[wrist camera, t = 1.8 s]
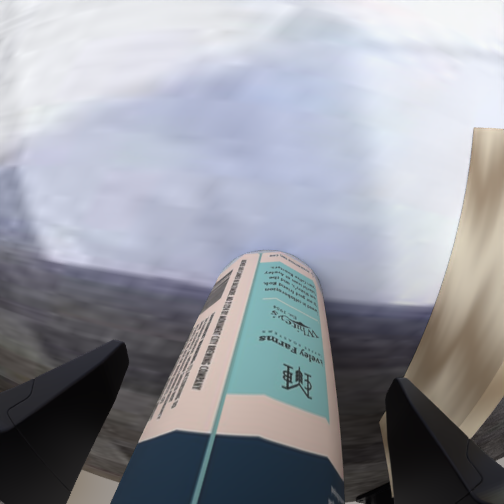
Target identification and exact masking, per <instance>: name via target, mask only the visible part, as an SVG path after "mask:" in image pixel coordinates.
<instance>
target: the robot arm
mask: <svg viewBox="0 0 504 504" xmlns="http://www.w3.org/2000/svg"><path fill="white" fill-rule="evenodd" d="M128 365H129V358H128V354H127V349H126V345H125V343H124V342H121V341H118V340H112V341H110V342H108V343H106V344H104V345H102V346H100V347H98V348H96V349H94V350H91V351H89V352H87V353H85V354H83V355H81V356H79V357H77V358H75V359H73V360H71V361H69V362H67V363H65V364H63V365H61V366H59V367H57V368H55V369H53V370H51V371H48V372H46V373H44V374H42V375H40V376H38V377H36V378H35V379H32V380H30V381H27V382H25V383H23V384H21V385H19V386H16V387H14V388H11V389H9V390H6V391H4V392H1V393H0V504H66V503H67V501H68V499H69V496H70V494H71V492H70V491H72V489H73V487H74V485H75V482H76V480H77V478H78V476H79V474H80V472H81V469H82V467H83V465H84V463H85V461H86V459H87V457H88V454H89V452H90V450H91V448H92V446H93V444H94V442H95V440H96V438H97V436H98V434H99V432H100V430H101V428H102V426H103V424H104V422H105V420H106V418H107V416H108V414H109V412H110V410H111V408H112V406H113V404H114V402H115V399H116V397H117V394H118V392H119V389H120V386H121V384H122V381H123V378H124V376H125V373H126V371H127V368H128ZM385 403H386V425H387V442H388V449H389V457H390V465H391V473H392V483H393V493H394V497H392V492H391V485H390V483H389V484H387V485H385V486H383V487H380V488H378V489H376V490H374V491H371V492H369V493H367V494H364V495H362V496H359V497H357V498H356V502H359V503H364V504H504V468H503V467H502V466H501V465H499V464H498V463H497V462H496V461H494V460H493V459H492V458H491V457H490V456H488V455H487V454H486V453H485V452H484V451H483V450H482V449H480V448H479V447H478V446H477V445H476V444H475V443H474V442H473V441H472V440H471V439H470V438H469V437H468V436H467V435H466V434H465V433H464V432H463V431H462V430H461V429H460V428H459V427H458V426H457V425H456V424H455V423H453V422H452V421H451V420H450V419H449V418H448V417H447V416H446V415H445V414H444V413H443V412H442V411H441V410H440V409H439V408H438V407H437V406H436V405H435V404H434V403H433V402H432V401H431V400H430V399H429V398H428V397H426V396H425V395H424V394H423V393H422V392H421V391H420V390H419V389H418V388H417V387H416V386H415V385H414V384H413V383H412V382H411V381H410V380H409V379H407V378H395V379H394V380H393V382H392V384H391V386H390V388H389V390H388V392H387V394H386V398H385Z"/></svg>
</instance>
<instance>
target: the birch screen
mask: <svg viewBox="0 0 504 504" xmlns="http://www.w3.org/2000/svg"><path fill="white" fill-rule="evenodd" d="M404 378H407V379H409V380H410V381H411V382H412V383H413V384H414V385H415V386H416V387H417V388H418V389H419V390H420V391H421V392H422V393H423V394H424V395H425V396H426V397H428V398H429V399H430V400H431V401H432V402H433V403H434V404H435V405H436V406H437V407H438V408H439V409H440V410H441V411H442V412H443V413H444V414H445V415H446V416H447V417H448V418H449V419H450V420H451V421H452V422H453V423H455V424H456V425H457V426H458V427H459V428H460V429H461V430H462V431H463V432H464V433H465V434H466V435H467V436H468V437H469V438H470V439H471V437H472V436H473V435H474V434H475V433H476V432H477V430H478V429H479V428H480V427H481V425H482V424H483V423H484V422H485V420H486V419H487V418H488V417H489V415H490V414H491V413H492V411H493V410H494V409H495V407H496V406H497V405H498V403H499V402H500V400H501V399H502V398H503V396H504V129H496V128H475V127H474V132H473V143H472V152H471V161H470V168H469V175H468V181H467V187H466V193H465V198H464V203H463V208H462V213H461V217H460V222H459V226H458V230H457V234H456V238H455V242H454V246H453V250H452V253H451V257H450V260H449V264H448V267H447V270H446V274H445V277H444V280H443V283H442V286H441V289H440V292H439V295H438V298H437V300H436V303H435V306H434V309H433V311H432V314H431V317H430V319H429V322H428V324H427V327H426V329H425V332H424V334H423V336H422V339H421V341H420V343H419V346H418V348H417V350H416V352H415V355H414V357H413V359H412V361H411V363H410V365H409V367H408V370H407V372H406V374H405V376H404ZM379 424H380V428H381V433H382V439H383V444H384V449H385V455H386V460H387V466H388V472H389V479H390V485H391V492H392V497H394V493H393V483H392V473H391V465H390V457H389V449H388V442H387V425H386V411H385V413H384V415H383V416H382V418H381V420H380V422H379Z"/></svg>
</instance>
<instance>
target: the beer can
mask: <svg viewBox="0 0 504 504" xmlns="http://www.w3.org/2000/svg"><path fill="white" fill-rule="evenodd" d="M110 504H345V496H344V476H343V461H342V447H341V435H340V424H339V413H338V404H337V394H336V386H335V377H334V369H333V361H332V354H331V346H330V339H329V332H328V325H327V319H326V312H325V306H324V300H323V293H322V288H321V285H320V283H319V280H318V278H317V277H316V275H315V273H314V272H313V270H312V269H311V268H310V267H309V266H308V265H307V264H306V263H304V262H302V261H301V260H299V259H298V258H296V257H295V256H293V255H290V254H288V253H284V252H280V251H276V250H260V251H254V252H249V253H246V254H244V255H241V256H239V257H238V258H236V259H234V260H233V261H232V262H231V263H230V264H229V265H228V266H226V267H225V268H224V269H223V271H222V272H221V274H220V275H219V277H218V279H217V281H216V283H215V285H214V287H213V289H212V291H211V293H210V295H209V297H208V299H207V301H206V303H205V305H204V307H203V309H202V311H201V313H200V315H199V317H198V319H197V321H196V323H195V325H194V327H193V329H192V331H191V333H190V335H189V337H188V339H187V341H186V343H185V346H184V348H183V350H182V352H181V354H180V356H179V358H178V360H177V362H176V364H175V366H174V368H173V370H172V372H171V374H170V376H169V378H168V381H167V383H166V385H165V387H164V389H163V391H162V393H161V395H160V397H159V399H158V401H157V404H156V406H155V408H154V410H153V412H152V414H151V416H150V418H149V420H148V423H147V425H146V427H145V429H144V431H143V433H142V435H141V438H140V440H139V442H138V444H137V446H136V448H135V450H134V453H133V455H132V457H131V459H130V461H129V463H128V466H127V468H126V470H125V472H124V474H123V477H122V479H121V481H120V483H119V486H118V488H117V490H116V492H115V494H114V497H113V499H112V501H111V503H110Z"/></svg>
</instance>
